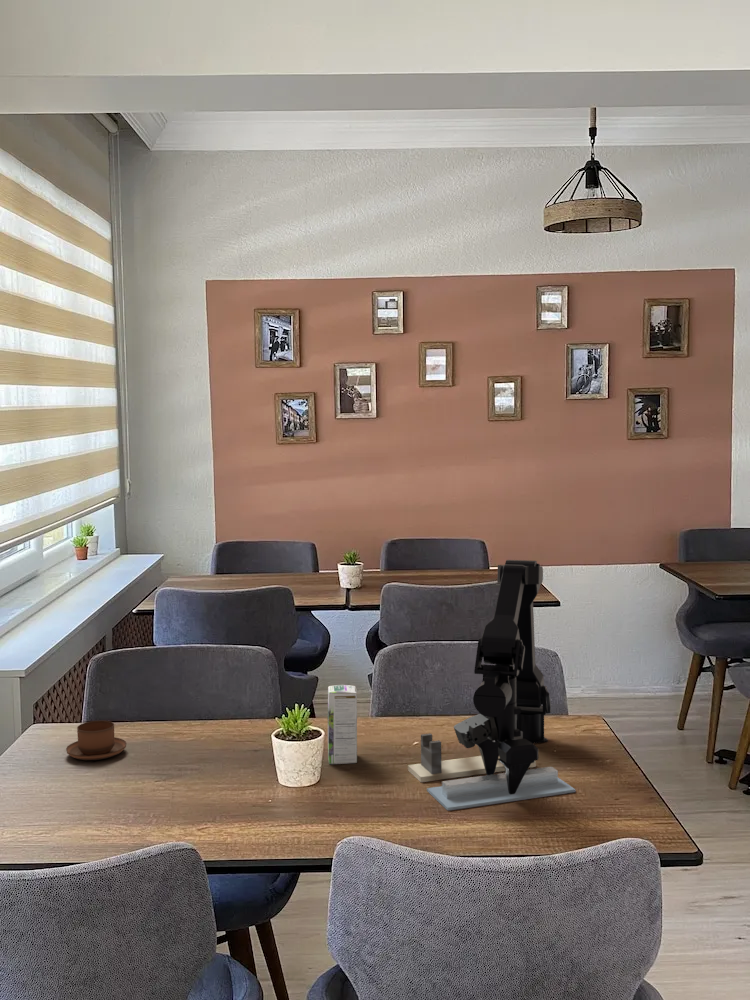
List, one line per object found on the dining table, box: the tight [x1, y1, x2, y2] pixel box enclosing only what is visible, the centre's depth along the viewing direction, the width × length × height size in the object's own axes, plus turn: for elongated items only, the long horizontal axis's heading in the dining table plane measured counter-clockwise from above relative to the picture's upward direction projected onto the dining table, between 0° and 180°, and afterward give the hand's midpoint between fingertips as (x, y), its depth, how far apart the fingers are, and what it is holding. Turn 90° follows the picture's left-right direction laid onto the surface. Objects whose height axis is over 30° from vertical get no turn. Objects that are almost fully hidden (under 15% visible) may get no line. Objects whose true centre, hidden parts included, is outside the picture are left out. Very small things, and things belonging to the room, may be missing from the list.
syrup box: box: [327, 684, 358, 765], centre depth 204 cm, size 6×6×14 cm
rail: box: [441, 766, 559, 799], centre depth 186 cm, size 22×2×2 cm, turn 108°
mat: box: [426, 777, 576, 811], centre depth 186 cm, size 25×10×1 cm, turn 108°
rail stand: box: [407, 731, 537, 783], centre depth 198 cm, size 24×7×7 cm, turn 108°
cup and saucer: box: [65, 720, 127, 761], centre depth 210 cm, size 12×12×6 cm
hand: (500, 785), depth 186 cm, fingers open, 9 cm apart
